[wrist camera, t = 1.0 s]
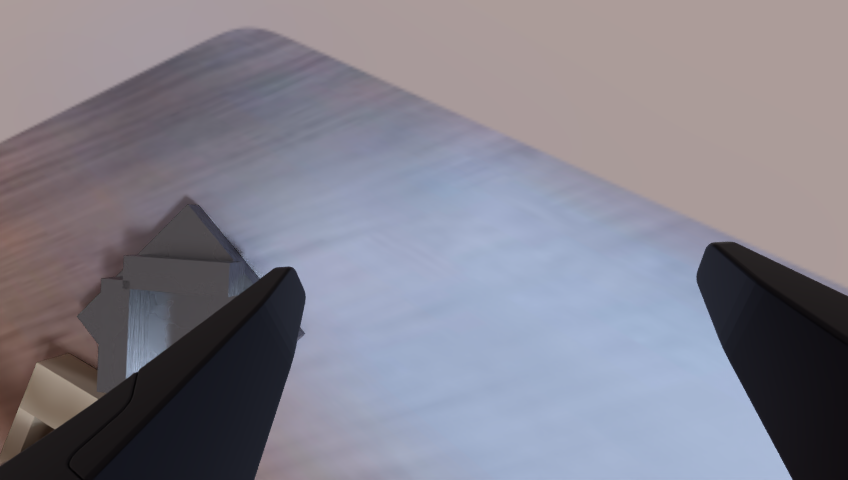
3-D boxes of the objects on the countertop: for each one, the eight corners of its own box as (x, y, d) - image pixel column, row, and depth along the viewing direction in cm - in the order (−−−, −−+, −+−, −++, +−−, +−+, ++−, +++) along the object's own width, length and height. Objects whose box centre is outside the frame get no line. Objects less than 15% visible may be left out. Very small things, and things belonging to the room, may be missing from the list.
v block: (310, 328, 25) (292, 338, 22) (183, 444, 26) (152, 465, 24) (204, 200, 26) (175, 196, 23) (86, 318, 27) (47, 326, 25)
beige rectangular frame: (68, 353, 28) (36, 362, 26) (162, 408, 26) (136, 422, 25) (9, 501, 28) (-27, 520, 26) (97, 560, 27) (67, 585, 25)
